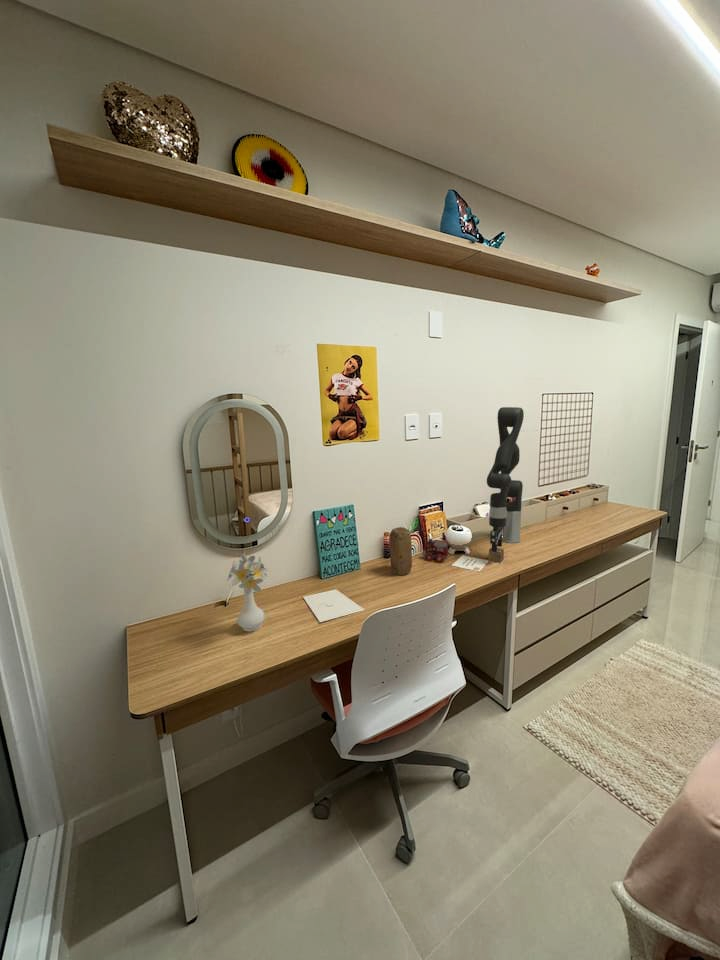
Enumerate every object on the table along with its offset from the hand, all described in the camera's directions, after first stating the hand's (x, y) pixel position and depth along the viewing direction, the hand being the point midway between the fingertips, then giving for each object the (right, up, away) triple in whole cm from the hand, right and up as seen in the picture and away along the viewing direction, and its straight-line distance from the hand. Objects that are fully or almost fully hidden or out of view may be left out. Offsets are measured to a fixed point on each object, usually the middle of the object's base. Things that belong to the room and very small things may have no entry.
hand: (496, 548), depth 175 cm
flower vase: (-102, -19, -46) cm, 114 cm away
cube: (0, -6, +2) cm, 6 cm away
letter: (-13, -7, -1) cm, 15 cm away
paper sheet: (-71, -15, -31) cm, 79 cm away
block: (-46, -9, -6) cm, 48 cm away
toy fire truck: (-28, -6, +5) cm, 29 cm away
